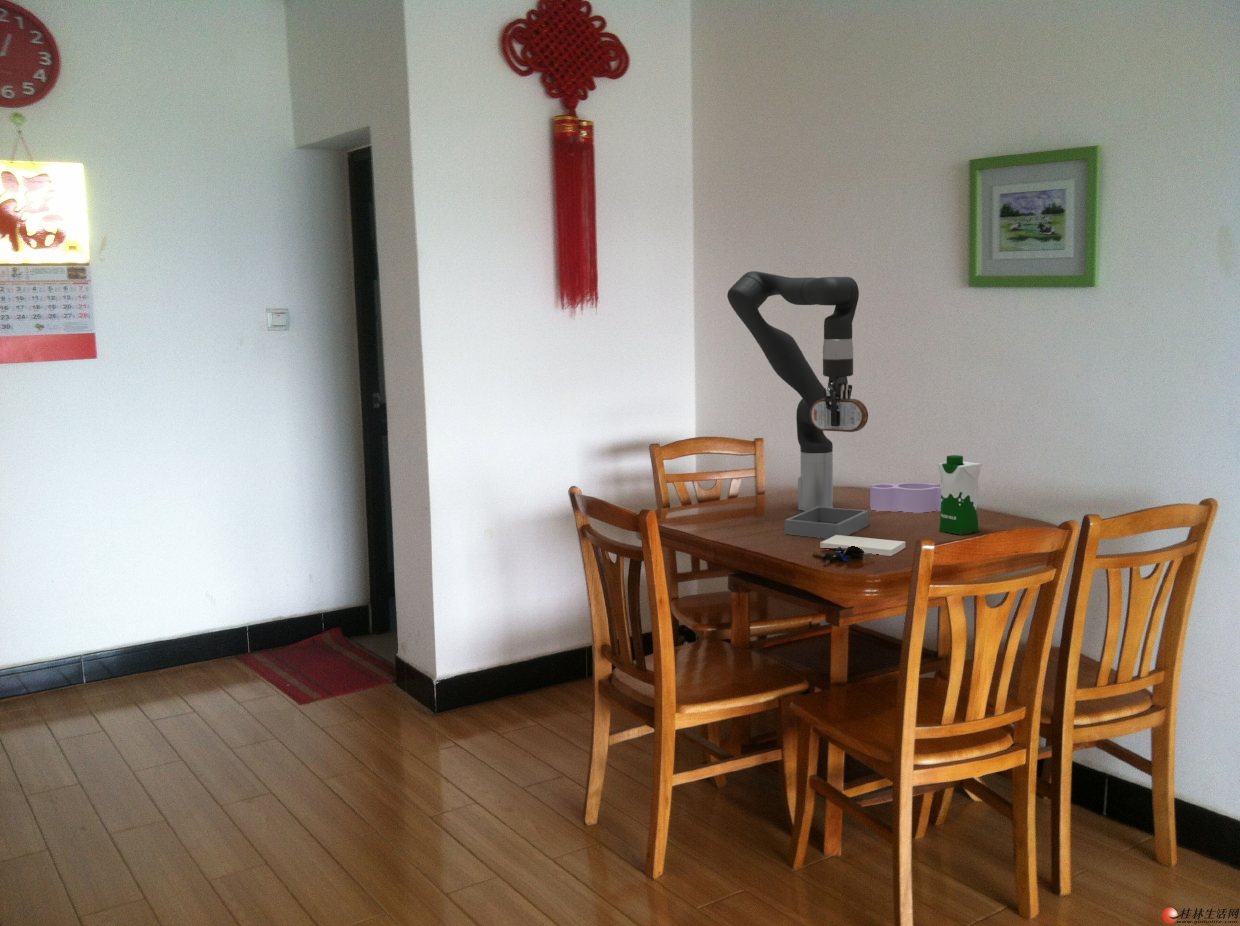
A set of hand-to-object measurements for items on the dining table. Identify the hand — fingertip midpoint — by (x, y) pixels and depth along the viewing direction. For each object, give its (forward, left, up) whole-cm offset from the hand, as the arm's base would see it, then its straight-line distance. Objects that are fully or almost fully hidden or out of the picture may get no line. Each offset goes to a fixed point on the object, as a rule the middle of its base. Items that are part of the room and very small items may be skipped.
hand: (837, 425), depth 271 cm
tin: (0, 0, -2) cm, 2 cm away
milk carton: (+25, +20, -29) cm, 43 cm away
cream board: (+10, -9, -29) cm, 32 cm away
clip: (+3, +44, -29) cm, 53 cm away
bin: (-6, +7, -29) cm, 30 cm away
